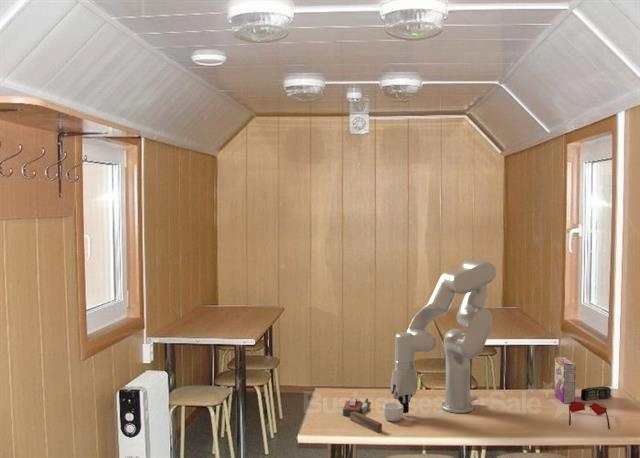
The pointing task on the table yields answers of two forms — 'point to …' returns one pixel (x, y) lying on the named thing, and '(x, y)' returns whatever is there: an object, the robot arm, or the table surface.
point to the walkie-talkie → (354, 406)
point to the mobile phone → (595, 393)
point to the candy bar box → (564, 380)
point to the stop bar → (366, 422)
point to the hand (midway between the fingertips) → (404, 411)
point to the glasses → (580, 406)
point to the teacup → (393, 411)
